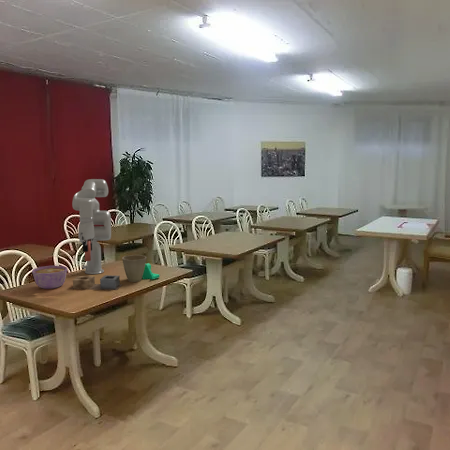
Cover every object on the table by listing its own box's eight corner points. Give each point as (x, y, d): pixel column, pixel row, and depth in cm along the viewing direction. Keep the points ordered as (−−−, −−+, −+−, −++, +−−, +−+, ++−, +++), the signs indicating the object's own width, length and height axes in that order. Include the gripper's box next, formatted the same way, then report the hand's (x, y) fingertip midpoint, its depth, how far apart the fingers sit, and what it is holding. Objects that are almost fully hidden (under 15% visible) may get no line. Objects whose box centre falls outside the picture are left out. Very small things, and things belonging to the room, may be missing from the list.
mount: (73, 288, 277) (72, 280, 276) (78, 284, 286) (78, 276, 285) (89, 288, 277) (89, 280, 276) (94, 284, 286) (94, 276, 285)
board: (70, 290, 276) (70, 288, 276) (78, 285, 288) (78, 283, 288) (117, 292, 274) (117, 290, 274) (122, 286, 286) (122, 284, 286)
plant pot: (122, 285, 288) (121, 260, 286) (123, 279, 303) (122, 255, 300) (146, 284, 291) (146, 259, 288) (146, 278, 305) (146, 254, 303)
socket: (100, 289, 276) (100, 279, 275) (105, 284, 285) (104, 275, 284) (115, 289, 276) (115, 279, 275) (119, 285, 285) (119, 275, 284)
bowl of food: (75, 286, 285) (74, 268, 283) (48, 294, 268) (47, 275, 266) (53, 281, 295) (52, 264, 293) (25, 289, 278) (24, 270, 276)
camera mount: (160, 278, 306) (160, 263, 305) (152, 281, 300) (152, 265, 298) (146, 275, 313) (146, 260, 311) (138, 278, 306) (138, 262, 305)
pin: (83, 260, 278) (83, 241, 276) (87, 259, 281) (86, 240, 279) (88, 261, 277) (88, 241, 275) (92, 260, 280) (91, 240, 278)
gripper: (89, 218, 284) (90, 248, 287) (72, 221, 269) (73, 253, 271) (100, 219, 282) (100, 248, 284) (83, 222, 266) (84, 254, 269)
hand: (87, 250), depth 278 cm, fingers closed on pin, 3 cm apart
